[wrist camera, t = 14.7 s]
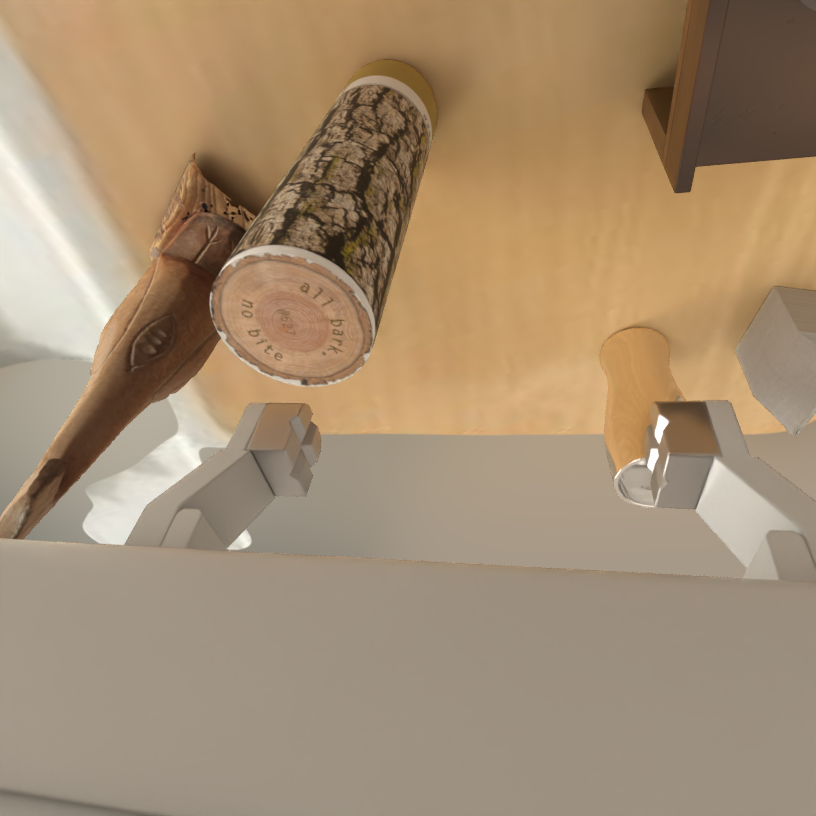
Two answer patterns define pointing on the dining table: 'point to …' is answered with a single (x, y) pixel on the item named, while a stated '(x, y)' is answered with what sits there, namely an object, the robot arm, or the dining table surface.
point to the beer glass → (634, 405)
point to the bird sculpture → (142, 343)
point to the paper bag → (783, 356)
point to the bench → (737, 88)
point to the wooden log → (330, 235)
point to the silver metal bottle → (810, 4)
